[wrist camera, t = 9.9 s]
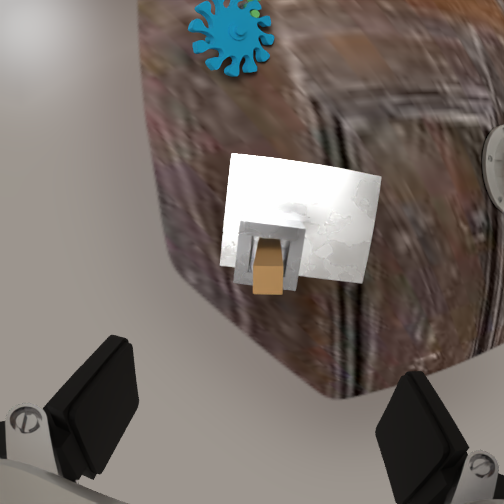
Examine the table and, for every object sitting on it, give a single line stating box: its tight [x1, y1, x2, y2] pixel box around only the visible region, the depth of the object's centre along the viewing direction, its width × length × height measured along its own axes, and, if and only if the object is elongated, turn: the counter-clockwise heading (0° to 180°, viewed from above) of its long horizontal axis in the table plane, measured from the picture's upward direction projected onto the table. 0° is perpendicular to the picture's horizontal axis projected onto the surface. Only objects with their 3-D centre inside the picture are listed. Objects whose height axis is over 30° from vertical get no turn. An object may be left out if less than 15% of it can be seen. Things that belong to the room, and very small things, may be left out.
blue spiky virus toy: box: [188, 0, 274, 77], centre depth 25 cm, size 11×6×10 cm
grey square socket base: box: [220, 154, 381, 291], centre depth 29 cm, size 16×12×6 cm
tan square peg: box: [253, 238, 283, 295], centre depth 27 cm, size 2×2×10 cm
